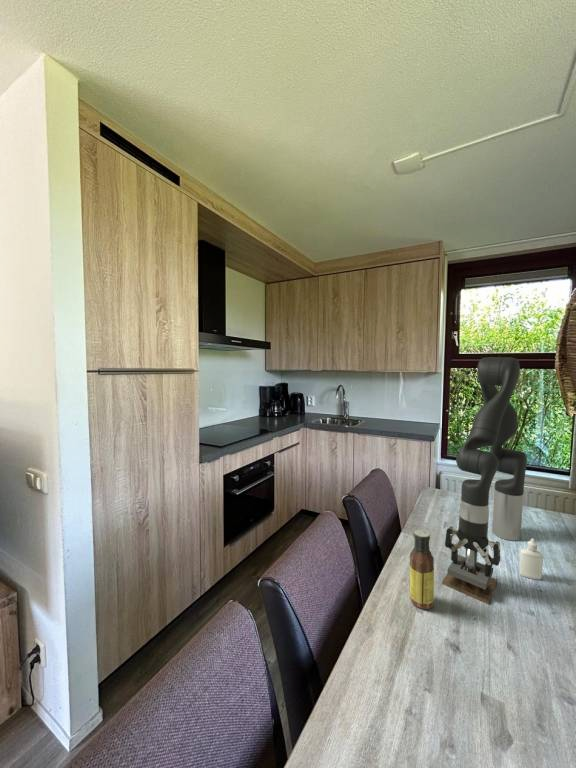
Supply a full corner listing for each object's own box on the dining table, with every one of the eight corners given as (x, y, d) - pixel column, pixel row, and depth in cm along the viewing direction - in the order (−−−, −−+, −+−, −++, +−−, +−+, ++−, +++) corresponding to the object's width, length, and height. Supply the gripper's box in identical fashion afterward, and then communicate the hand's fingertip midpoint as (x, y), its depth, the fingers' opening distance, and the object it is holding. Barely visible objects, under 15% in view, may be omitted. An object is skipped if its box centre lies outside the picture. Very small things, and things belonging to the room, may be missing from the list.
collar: (456, 559, 105) (457, 554, 105) (493, 572, 99) (493, 567, 99) (447, 573, 98) (447, 568, 98) (485, 589, 91) (485, 584, 91)
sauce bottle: (432, 597, 93) (435, 529, 91) (434, 613, 87) (438, 541, 85) (407, 591, 95) (410, 525, 93) (408, 607, 89) (411, 536, 87)
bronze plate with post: (454, 565, 107) (455, 533, 106) (496, 582, 99) (499, 547, 98) (442, 583, 98) (444, 548, 97) (488, 604, 90) (490, 566, 89)
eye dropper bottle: (539, 583, 99) (542, 545, 98) (517, 574, 103) (519, 537, 102) (542, 577, 102) (545, 540, 101) (521, 568, 106) (523, 532, 105)
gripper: (504, 519, 95) (500, 573, 96) (451, 504, 105) (448, 553, 106) (499, 529, 89) (495, 586, 91) (444, 512, 99) (441, 564, 100)
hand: (470, 568), depth 98 cm, fingers open, 8 cm apart
